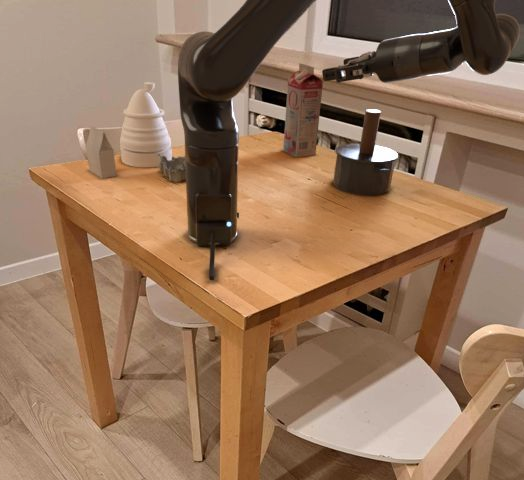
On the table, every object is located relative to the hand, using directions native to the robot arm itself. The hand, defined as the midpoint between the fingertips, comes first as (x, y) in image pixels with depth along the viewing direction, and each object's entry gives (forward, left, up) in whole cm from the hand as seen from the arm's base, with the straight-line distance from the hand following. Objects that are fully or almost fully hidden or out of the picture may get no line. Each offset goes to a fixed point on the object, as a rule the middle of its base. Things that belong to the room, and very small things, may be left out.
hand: (334, 69), depth 111 cm
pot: (0, -10, -25) cm, 27 cm away
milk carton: (+28, 0, -25) cm, 37 cm away
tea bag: (+9, +52, -25) cm, 58 cm away
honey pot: (+20, +42, -25) cm, 53 cm away
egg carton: (+8, +34, -25) cm, 43 cm away
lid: (0, -10, -17) cm, 20 cm away
